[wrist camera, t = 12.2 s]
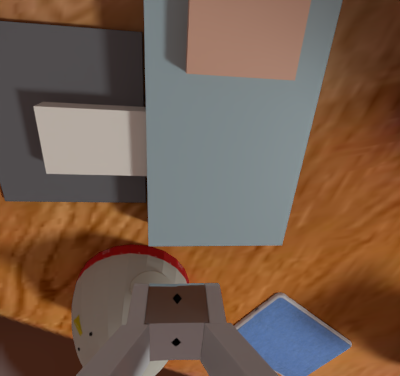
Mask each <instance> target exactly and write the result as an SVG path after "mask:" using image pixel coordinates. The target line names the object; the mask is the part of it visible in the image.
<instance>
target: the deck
mask: <svg viewBox="0 0 400 376" xmlns="http://www.w3.org/2000/svg"><path fill="white" fill-rule="evenodd" d="M342 1H343V0H311V5H310V9H309V14H308V19H307V24H306V29H305V34H304V39H303V44H302V48H301V53H300V58H299V63H298V68H297V73H296V78H295V81H294V80H278V79H262V78H246V77H230V76H214V75H199V74H186V72H185V70H186V45H187V20H188V0H144V39H145V90H146V140H147V191H148V241H149V246H254V245H282V243H283V239H284V235H285V231H286V227H287V223H288V219H289V215H290V211H291V207H292V203H293V199H294V195H295V191H296V187H297V182H298V178H299V174H300V170H301V166H302V162H303V158H304V154H305V150H306V146H307V142H308V138H309V134H310V130H311V126H312V122H313V118H314V114H315V110H316V106H317V102H318V98H319V94H320V90H321V86H322V82H323V77H324V73H325V69H326V65H327V61H328V57H329V53H330V49H331V45H332V41H333V37H334V33H335V29H336V25H337V21H338V17H339V13H340V9H341V5H342Z"/></svg>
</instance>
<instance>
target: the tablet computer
mask: <svg viewBox="0 0 400 376" xmlns="http://www.w3.org/2000/svg"><path fill="white" fill-rule="evenodd" d="M234 327H235V328H236V329H237V330H238V332H239V333H240V334H241V335H242V336H243V337H244V338H245V339H246V340H247V341H248V343H249V344H250V345H251V346H252V347H253V348H254V349H255V350H256V351H257V352H258V354H259V355H260V356H261V357H262V358H263V359H264V360H265V361H266V362H267V363H268V365H269V366H270V367H271V368H272V369H273V370H274V371H275V372H277V373H279V374H281V375H282V376H307V375H309V374H310V373H312V372H313V371H315V370H316V369H318V368H320V367H321V366H323V365H324V364H326V363H327V362H329V361H330V360H332V359H333V358H335V357H337V356H338V355H340V354H341V353H343V352H344V351H346V350H347V349H349V348H350V347H351V346H352V343H351V341H350V340H348V339H347V338H345V337H344V336H343V335H341V334H340V333H338V332H337V331H335V330H334V329H333V328H331V327H330V326H328V325H327V324H326V323H324V322H323V321H321V320H320V319H319V318H317V317H316V316H314V315H313V314H312V313H310V312H309V311H307V310H306V309H305V308H303V307H302V306H301V305H299V304H298V303H296V302H295V301H294V300H293V299H291V298H289V297H288V296H287V295H285V294H284V293H276V294H275V295H273V296H272V297H271V298H269V299H268V300H267V301H265V302H264V303H263V304H261V305H260V306H259V307H258V308H256V309H255V310H254V311H252V312H251V313H250V314H248V315H247V316H246V317H245V318H243V319H242V320H241V321H239V322H238V323H237V324H235V325H234Z"/></svg>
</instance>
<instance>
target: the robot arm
mask: <svg viewBox="0 0 400 376" xmlns="http://www.w3.org/2000/svg"><path fill="white" fill-rule="evenodd" d="M162 360H201V363H202V364H203V366H204V368H205V369H206V371H207V372H208V374H209V376H278V374H277V373H276V372H275V371H274V370H273V369H272V368H271V367H270V366H269V365H268V363H267V362H266V361H265V360H264V359H263V358H262V357H261V356H260V355H259V354H258V352H257V351H256V350H255V349H254V348H253V347H252V346H251V345H250V344H249V343H248V341H247V340H246V339H245V338H244V337H243V336H242V335H241V334H240V333H239V332H238V330H237V329H236V328H235V327H234V326H233V325H232V324H231V323H226V317H225V312H224V306H223V301H222V295H221V290H220V285H219V284H218V283H205V284H204V283H190V284H154V283H149V284H143V283H135V284H134V286H133V290H132V296H131V301H130V307H129V313H128V318H127V324H126V325H121V326H120V327H119V329H118V330H117V331H116V332H115V333H114V334H113V335H112V336H111V337H110V339H109V340H108V341H107V342H106V343H105V344H104V345H103V346H102V347H101V348H100V350H99V351H98V352H97V353H96V354H95V355H94V356H93V357H92V358H91V360H90V361H89V362H88V363H87V364H86V365H85V366H84V367H83V369H82V370H81V371H80V372H79V373H78V374H77V375H76V376H142V375H143V373H144V371H145V370H146V368H147V366H148V365H149V363H150V361H162Z"/></svg>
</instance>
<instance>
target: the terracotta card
mask: <svg viewBox="0 0 400 376" xmlns="http://www.w3.org/2000/svg"><path fill="white" fill-rule="evenodd" d="M310 5H311V0H188V20H187V45H186V70H185V72H186V74H199V75H214V76H230V77H246V78H262V79H278V80H294V81H295V78H296V73H297V68H298V63H299V58H300V53H301V48H302V44H303V39H304V34H305V29H306V24H307V19H308V14H309V9H310Z"/></svg>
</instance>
